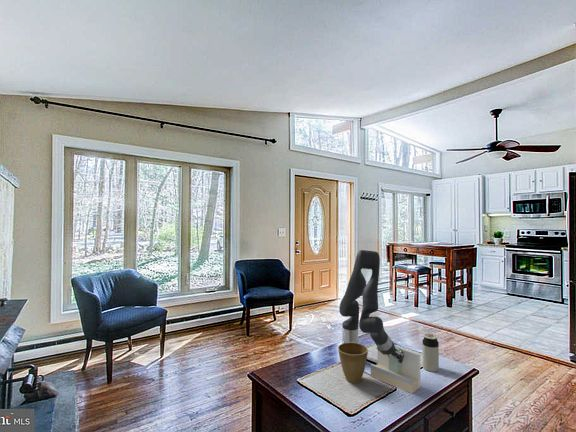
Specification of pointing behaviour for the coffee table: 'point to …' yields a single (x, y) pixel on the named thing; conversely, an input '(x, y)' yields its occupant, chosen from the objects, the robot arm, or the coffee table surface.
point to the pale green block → (394, 362)
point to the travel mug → (430, 352)
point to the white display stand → (404, 378)
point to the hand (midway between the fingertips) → (396, 359)
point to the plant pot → (353, 360)
